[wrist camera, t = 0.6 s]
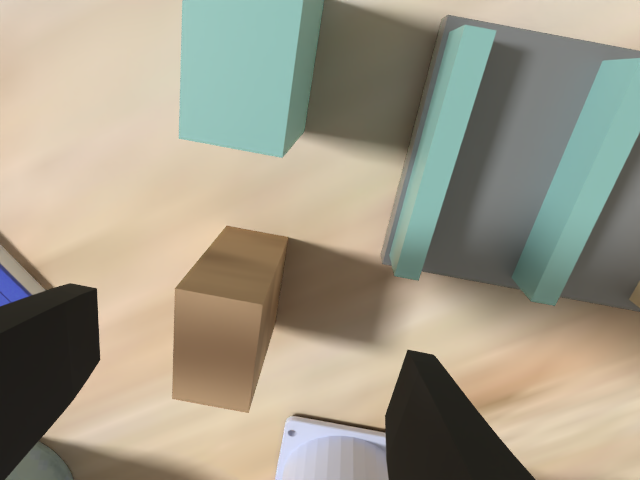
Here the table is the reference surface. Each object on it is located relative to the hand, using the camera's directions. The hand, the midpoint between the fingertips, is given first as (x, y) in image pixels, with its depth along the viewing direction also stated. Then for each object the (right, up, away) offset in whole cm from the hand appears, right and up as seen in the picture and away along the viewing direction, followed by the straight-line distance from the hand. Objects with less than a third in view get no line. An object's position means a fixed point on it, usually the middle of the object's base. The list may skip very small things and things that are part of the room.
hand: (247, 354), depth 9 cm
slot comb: (+14, +5, +8) cm, 17 cm away
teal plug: (0, +10, +7) cm, 12 cm away
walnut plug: (-2, +1, +11) cm, 11 cm away
